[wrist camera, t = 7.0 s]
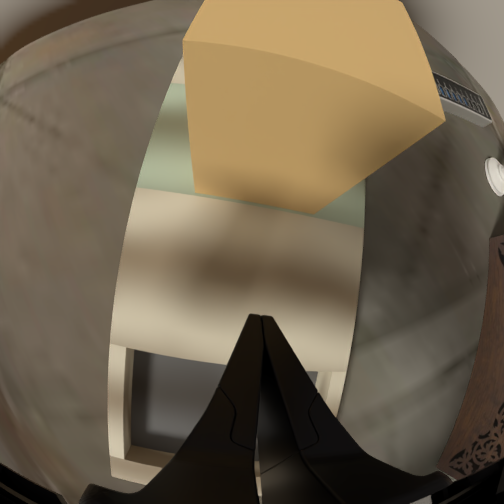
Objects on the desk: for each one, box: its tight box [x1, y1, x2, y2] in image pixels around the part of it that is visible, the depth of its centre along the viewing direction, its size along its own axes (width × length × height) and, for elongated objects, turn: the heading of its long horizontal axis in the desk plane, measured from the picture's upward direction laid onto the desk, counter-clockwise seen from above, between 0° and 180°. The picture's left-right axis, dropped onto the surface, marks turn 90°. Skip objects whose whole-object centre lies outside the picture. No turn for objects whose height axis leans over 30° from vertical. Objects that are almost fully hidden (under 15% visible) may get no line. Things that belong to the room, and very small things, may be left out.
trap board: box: [108, 56, 365, 496], centre depth 17 cm, size 37×14×2 cm, turn 171°
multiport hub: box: [432, 71, 492, 127], centre depth 24 cm, size 4×14×2 cm, turn 94°
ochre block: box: [183, 0, 446, 214], centre depth 11 cm, size 7×7×11 cm
